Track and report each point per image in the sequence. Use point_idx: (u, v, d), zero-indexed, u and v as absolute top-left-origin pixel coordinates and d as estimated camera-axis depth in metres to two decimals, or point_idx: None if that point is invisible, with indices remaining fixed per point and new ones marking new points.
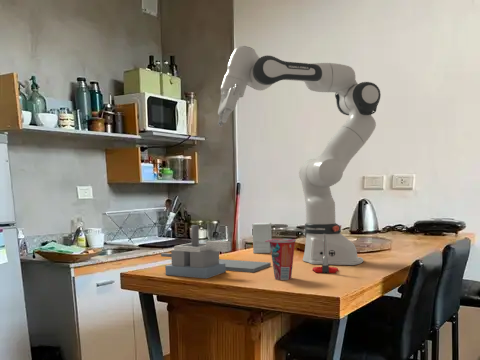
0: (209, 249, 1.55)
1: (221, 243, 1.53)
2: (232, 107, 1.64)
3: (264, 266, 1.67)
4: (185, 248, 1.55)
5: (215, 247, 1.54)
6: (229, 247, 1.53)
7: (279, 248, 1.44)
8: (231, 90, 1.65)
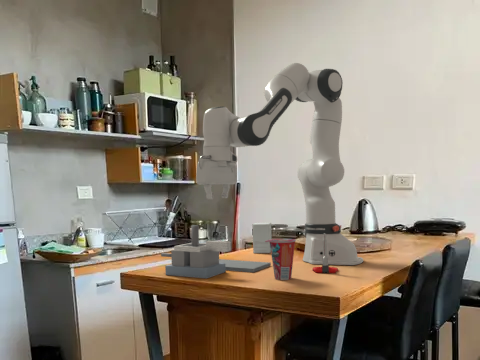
0: (209, 249, 1.55)
1: (221, 243, 1.53)
2: (203, 183, 1.46)
3: (264, 266, 1.67)
4: (185, 248, 1.55)
5: (215, 247, 1.54)
6: (229, 247, 1.53)
7: (279, 248, 1.44)
8: (198, 165, 1.47)
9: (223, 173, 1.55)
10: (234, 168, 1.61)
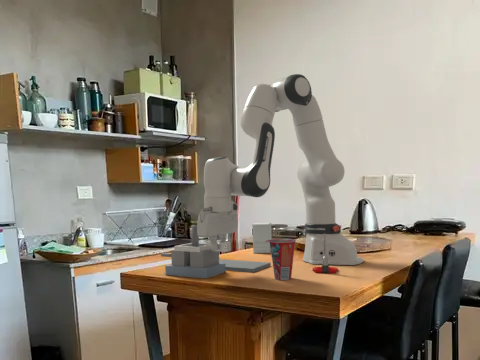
0: (209, 249, 1.55)
1: (221, 243, 1.53)
2: (204, 236, 1.46)
3: (264, 266, 1.67)
4: (185, 248, 1.55)
5: None
6: (229, 247, 1.53)
7: (279, 248, 1.44)
8: (199, 218, 1.47)
9: (224, 224, 1.55)
10: (235, 216, 1.61)
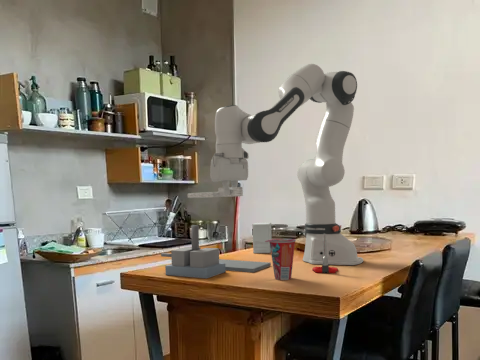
0: (221, 195, 1.60)
1: (233, 188, 1.58)
2: (217, 179, 1.51)
3: (264, 266, 1.67)
4: (198, 194, 1.60)
5: None
6: (241, 192, 1.58)
7: (279, 248, 1.44)
8: (211, 162, 1.52)
9: (235, 170, 1.60)
10: (245, 164, 1.66)
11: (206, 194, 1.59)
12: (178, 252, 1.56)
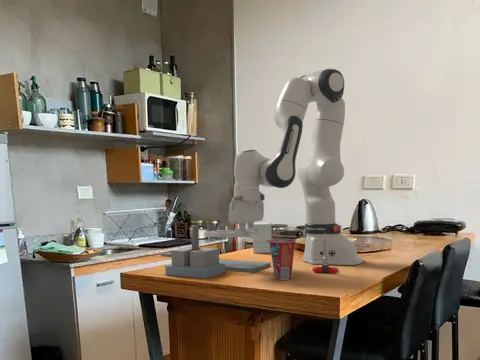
0: (238, 235, 1.67)
1: (249, 230, 1.65)
2: (235, 222, 1.58)
3: (264, 266, 1.67)
4: (215, 234, 1.67)
5: None
6: (257, 234, 1.65)
7: (279, 248, 1.44)
8: (230, 205, 1.59)
9: (252, 212, 1.67)
10: (261, 206, 1.73)
11: (223, 234, 1.65)
12: (178, 252, 1.56)
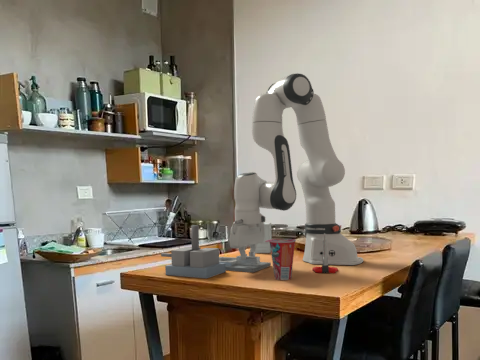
0: (239, 263, 1.67)
1: (251, 258, 1.65)
2: (236, 247, 1.58)
3: (264, 266, 1.67)
4: None
5: (245, 261, 1.66)
6: (258, 262, 1.65)
7: (279, 248, 1.44)
8: (231, 230, 1.59)
9: (253, 235, 1.67)
10: (262, 227, 1.73)
11: (225, 263, 1.65)
12: (178, 252, 1.56)
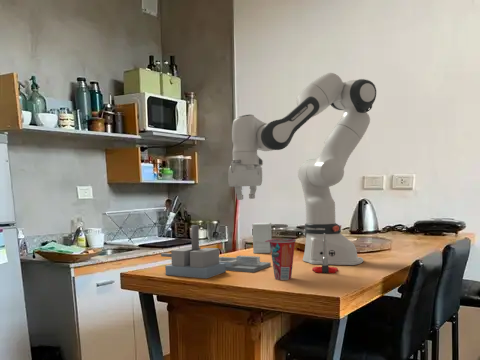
0: (239, 263, 1.67)
1: (251, 258, 1.65)
2: (235, 185, 1.60)
3: (264, 266, 1.67)
4: None
5: (245, 261, 1.66)
6: (258, 262, 1.65)
7: (279, 248, 1.44)
8: (229, 169, 1.62)
9: (251, 176, 1.70)
10: (260, 171, 1.75)
11: (225, 263, 1.65)
12: (178, 252, 1.56)
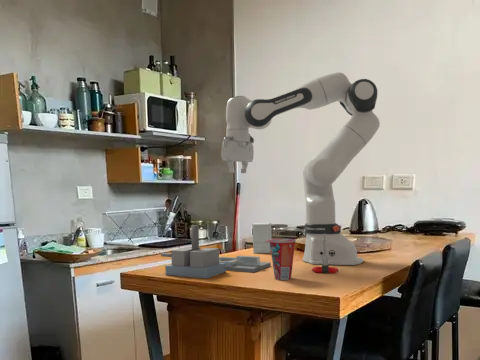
0: (239, 263, 1.67)
1: (251, 258, 1.65)
2: (227, 159, 1.78)
3: (264, 266, 1.67)
4: None
5: (245, 261, 1.66)
6: (258, 262, 1.65)
7: (279, 248, 1.44)
8: (222, 144, 1.79)
9: (243, 152, 1.87)
10: (251, 148, 1.93)
11: (225, 263, 1.65)
12: (178, 252, 1.56)
